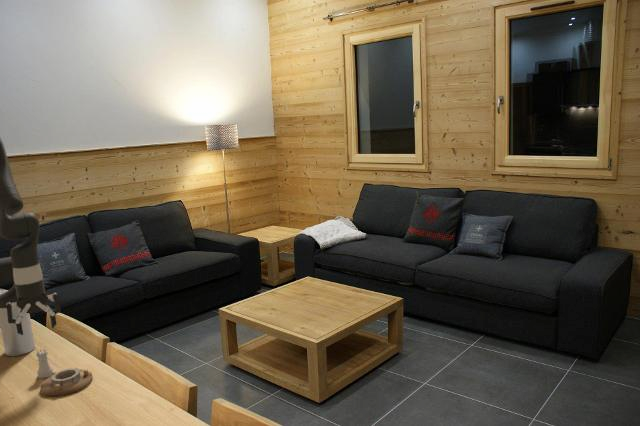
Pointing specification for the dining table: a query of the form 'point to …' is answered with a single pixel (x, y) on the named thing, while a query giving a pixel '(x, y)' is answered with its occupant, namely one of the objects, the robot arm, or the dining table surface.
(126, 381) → the dining table surface
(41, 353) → the rook chess piece
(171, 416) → the dining table surface
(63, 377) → the carrier disc
